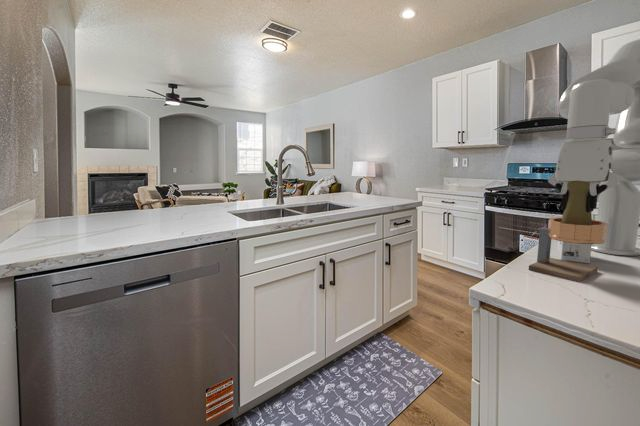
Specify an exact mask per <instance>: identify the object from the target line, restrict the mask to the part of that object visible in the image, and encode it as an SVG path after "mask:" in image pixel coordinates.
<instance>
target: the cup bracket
mask: <svg viewBox="0 0 640 426" xmlns="http://www.w3.org/2000/svg"><path fill="white" fill-rule="evenodd" d="M561 221H562V217H553V218H548V223H547V224H548V225H547V227H542V228H539V234H538V235H539V237H538V246H537V247H538V248H537V258H536V262H534V263H531V264H529V265H528V270H529V271H532V272H536V273H540V274H545V275H548V276H553V277H558V278H561V279H565V280H570V281H573V282H578V283H580V282H582V281H584V280H586V279H588V278H589V277H591V276H592V275H594V274H596V273H597V272H598V269H599V267H597V266H593V265H588V264H584V263H580V262H574V261H565V260H561V259H560V258H559V259H558V258H553V257H551V249H552V248H551V247H552V240H555V241H557V242H558V241H563V242H569V243H577V244H602V243H604V242H605V238H606V236H607V228H608V224H607V223H605V222H602V221H597V219H592V224H590V225H578V224H568V223H563V222H561Z"/></svg>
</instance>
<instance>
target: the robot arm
mask: <svg viewBox="0 0 640 426" xmlns="http://www.w3.org/2000/svg"><path fill="white" fill-rule="evenodd" d="M558 112H559V113H558V114H559V115H560V116H561V117H562V118H563V119H566V120H567V126H566V128H567V129H566V135H565V136H566V137H565V141H564V142H562V144H561V147H560V149H559V153H558V156H557V161H556V167H555V171H554V173H553V174H552V175H551V176H550V178H549V179H548V180H547V182H548V183H549V184H550V185H552V186H553V187H555V188H556V189H557V190H558V191H559V192H560V194H562V196H561V207H563V208H562V209H563V211H564V210H565V209H566V205H567V201H568V196H569V195H568V194H569V191H568V188H567V184H568V182H570V181H576V180H577V181H584V182H588V183H589V184H590V187H589V188H590V193H589V195H588V196H587V200H586V212H591V213H592V212H594V210H595V209H596V208H597V216H596V217H597V218H596V220H597V221H602V222H605V223H607V224H608V228H607V236H606V238H605V242H604V243H602V244H592V245H591V251H595V252H597V253H604V254H608V255H614V256H627V257H628V256H630V257H634V256H636V257H637V256H640V248H638V247H637V246H636V245H637V241H638V239H637V238H638V232H639V225H640V190H639V188H638V187H636V185H635V184H634V182H640V38H639V39H635V40H632V41H629V42H627V43H625V44H623V45H622V46H621V47H620V48H618V49H617V50H616V52H615V53H614V55H612V57H611V58H610V59H609V61H608V62H607V63H606V65H603V66H601V67H598V68H596V69H595V70H592V71H591V72H588V73H587V74H585V75H583V76H581V77H579V78H577V79H576V80H574V81H573V82H571V83H570V85H568V87H567V88H566V89H565V90H564V92H563V93H562V94H561V97H560V98H559V101H558ZM611 115H617V120H616V122H615V123H616V124H615V127H610V126H609V121H610V116H611ZM611 135H613V139H607V138H609V136H611ZM612 140H613V143H612ZM613 144H614V145H615V146H616V147H619V148H621V149H615V150H613ZM622 148H623V149H622ZM562 182H563V183H562ZM598 195H599V196H598ZM598 197H599V200H598ZM597 205H598V207H597Z"/></svg>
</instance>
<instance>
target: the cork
mask: <svg viewBox="0 0 640 426" xmlns="http://www.w3.org/2000/svg"><path fill="white" fill-rule="evenodd" d="M589 187H590V184H589V183H588V182H584V181H577V180H576V181H570V182H568V184H567V188H568V191H569V194H568V195H569V196H568V201H567V205H566V209H565V210H563V214H562V217H561V218H562V221H561V222H563V223H568V224H578V225H590V224H592V220H593V217H592V216H593V215H592V212H586V200H587V196H588V195H589V193H590V188H589Z"/></svg>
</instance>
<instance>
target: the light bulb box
mask: <svg viewBox="0 0 640 426" xmlns="http://www.w3.org/2000/svg"><path fill="white" fill-rule="evenodd" d="M591 245H592V244H577V243H569V242H563V241H558V240H557V250H556V251H557V254H558V257H559V260H564V261H569V262H574V263H582V264H584V263H585V264H590V262H591V254H592V250H591Z"/></svg>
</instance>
